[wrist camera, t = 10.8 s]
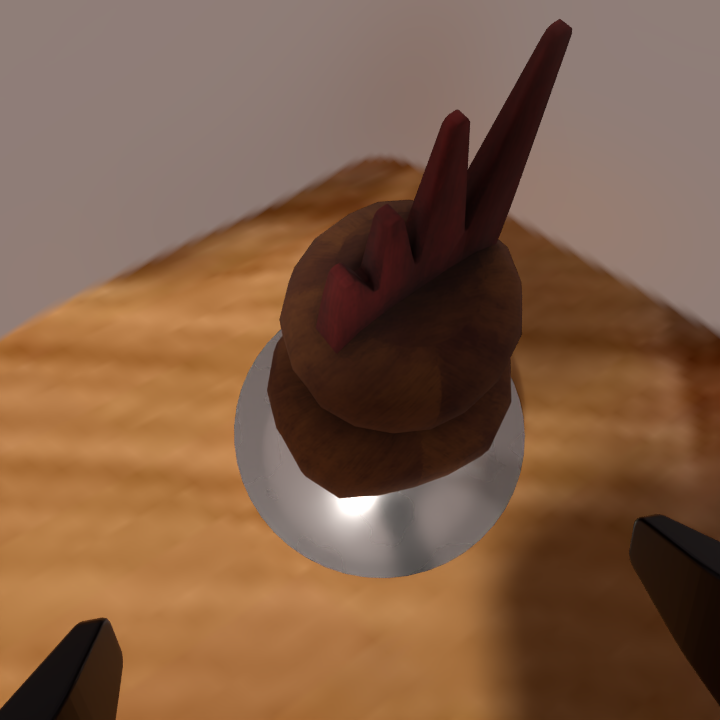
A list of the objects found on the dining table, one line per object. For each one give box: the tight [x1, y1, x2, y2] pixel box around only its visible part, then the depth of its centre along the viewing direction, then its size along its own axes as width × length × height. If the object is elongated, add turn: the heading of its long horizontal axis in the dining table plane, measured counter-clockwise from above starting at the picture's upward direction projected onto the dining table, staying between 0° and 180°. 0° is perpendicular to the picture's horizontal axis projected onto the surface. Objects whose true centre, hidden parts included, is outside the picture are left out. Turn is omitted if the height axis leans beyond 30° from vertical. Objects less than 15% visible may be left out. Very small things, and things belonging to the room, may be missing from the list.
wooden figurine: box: [267, 19, 572, 499], centre depth 13 cm, size 7×6×15 cm
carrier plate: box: [234, 330, 525, 578], centre depth 20 cm, size 11×11×2 cm
